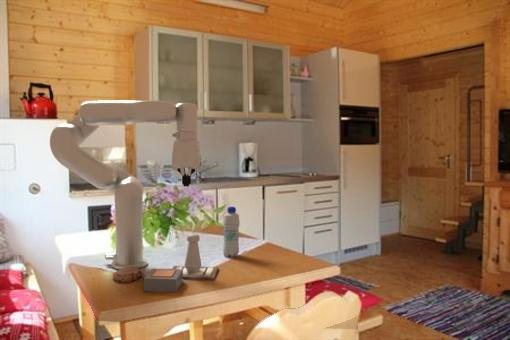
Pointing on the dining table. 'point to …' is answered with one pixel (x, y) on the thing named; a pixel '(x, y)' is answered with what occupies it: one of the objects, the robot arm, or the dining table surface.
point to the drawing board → (199, 273)
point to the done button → (164, 273)
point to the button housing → (163, 281)
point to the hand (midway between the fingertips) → (186, 186)
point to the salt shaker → (193, 254)
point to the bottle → (231, 232)
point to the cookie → (127, 275)
